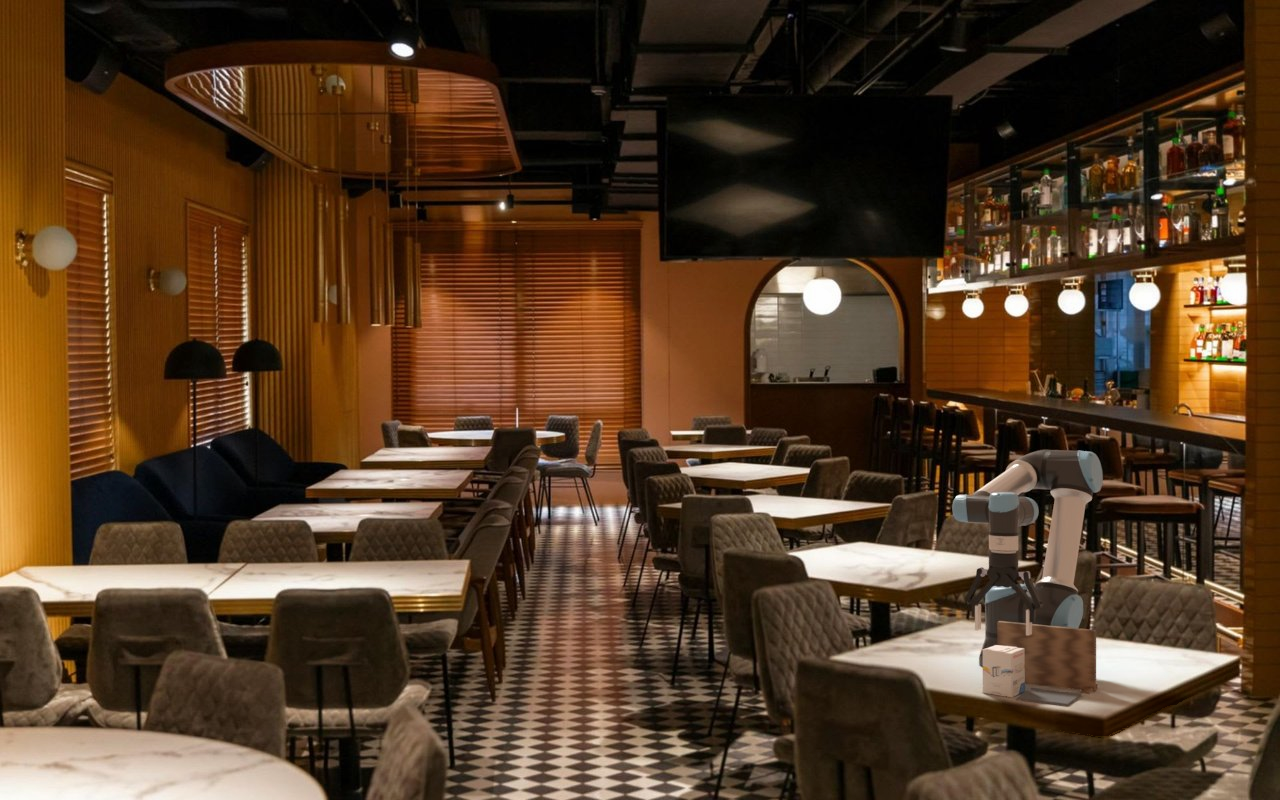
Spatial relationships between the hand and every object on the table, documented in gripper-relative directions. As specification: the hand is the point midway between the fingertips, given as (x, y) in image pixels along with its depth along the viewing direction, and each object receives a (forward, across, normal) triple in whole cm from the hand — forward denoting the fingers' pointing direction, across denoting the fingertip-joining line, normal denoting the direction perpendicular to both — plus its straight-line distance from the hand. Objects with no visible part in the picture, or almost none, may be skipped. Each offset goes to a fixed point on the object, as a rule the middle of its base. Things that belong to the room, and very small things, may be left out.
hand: (1003, 632), depth 362 cm
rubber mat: (+16, +12, 0) cm, 20 cm away
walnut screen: (+16, +7, +14) cm, 22 cm away
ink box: (+16, 0, 0) cm, 16 cm away
